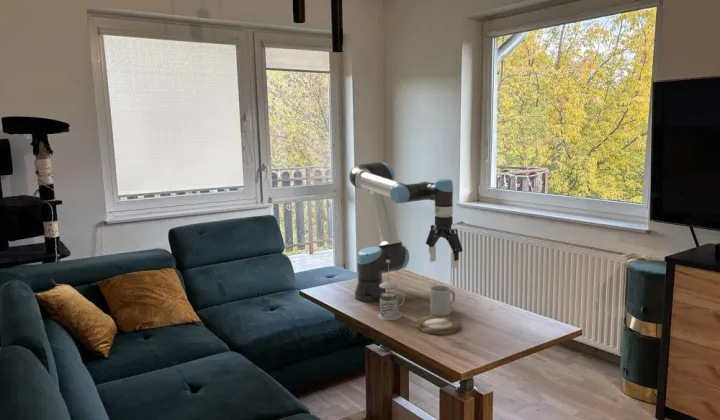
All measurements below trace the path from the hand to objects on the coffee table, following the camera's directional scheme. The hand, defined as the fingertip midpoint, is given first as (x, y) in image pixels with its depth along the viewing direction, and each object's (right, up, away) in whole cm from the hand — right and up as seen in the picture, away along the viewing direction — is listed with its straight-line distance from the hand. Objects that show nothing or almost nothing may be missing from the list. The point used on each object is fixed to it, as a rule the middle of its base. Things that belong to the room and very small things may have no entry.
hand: (443, 264), depth 224 cm
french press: (-22, -23, 0) cm, 32 cm away
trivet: (-4, -24, -13) cm, 27 cm away
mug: (+1, -21, +3) cm, 22 cm away
